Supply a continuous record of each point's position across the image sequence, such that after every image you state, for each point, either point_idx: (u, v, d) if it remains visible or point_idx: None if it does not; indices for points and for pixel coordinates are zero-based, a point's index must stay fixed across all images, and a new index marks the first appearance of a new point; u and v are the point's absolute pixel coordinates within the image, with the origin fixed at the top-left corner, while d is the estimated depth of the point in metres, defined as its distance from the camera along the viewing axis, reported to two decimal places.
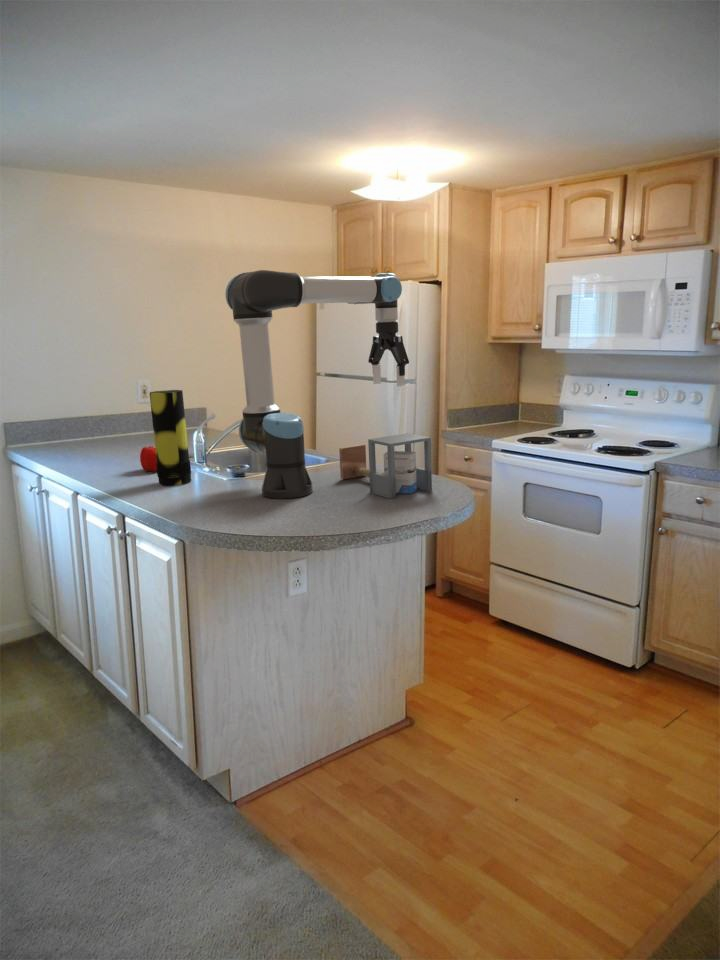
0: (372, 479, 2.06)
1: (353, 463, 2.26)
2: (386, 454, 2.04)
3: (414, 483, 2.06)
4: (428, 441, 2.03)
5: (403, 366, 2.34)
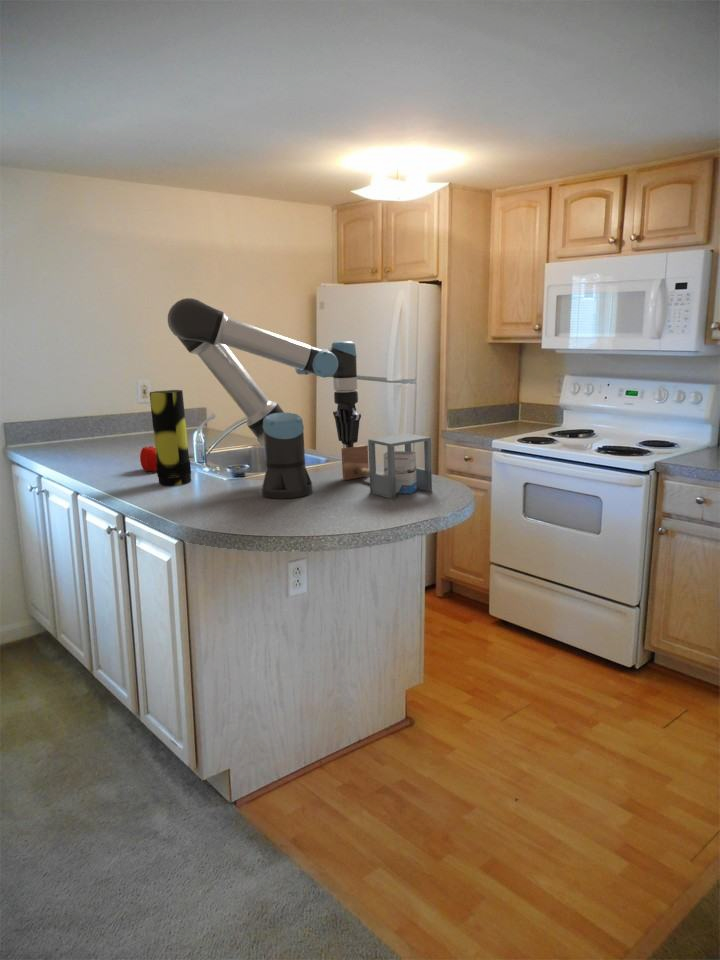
0: (372, 479, 2.06)
1: (355, 464, 2.25)
2: (386, 454, 2.04)
3: (414, 483, 2.06)
4: (428, 441, 2.03)
5: (351, 444, 2.26)
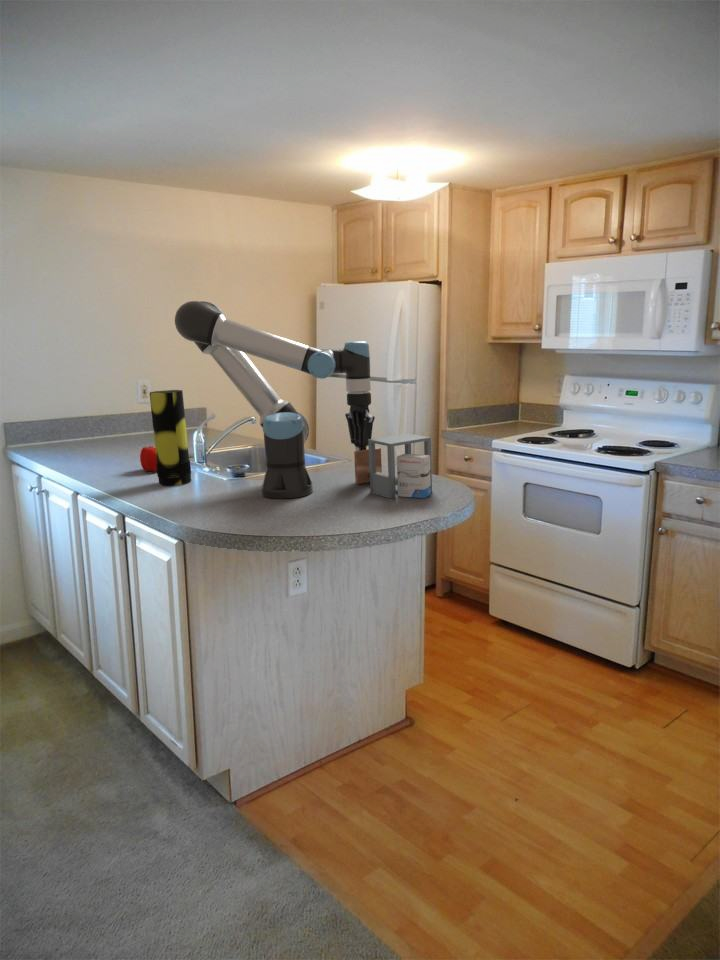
0: (372, 479, 2.06)
1: (368, 467, 2.19)
2: (399, 457, 1.99)
3: (428, 487, 2.00)
4: (428, 441, 2.03)
5: (364, 447, 2.20)
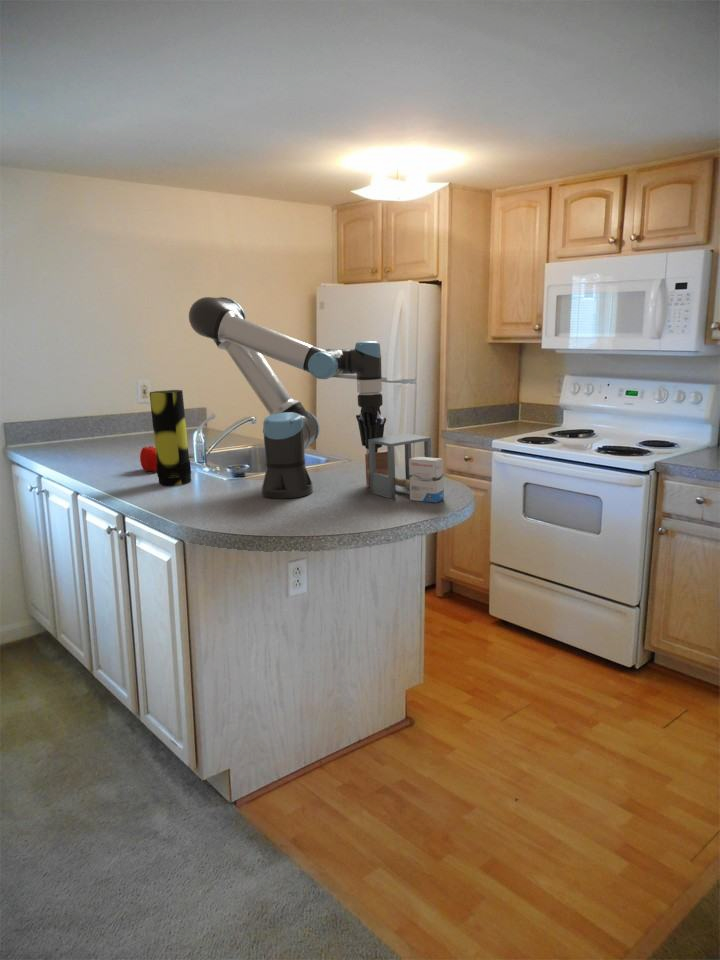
0: (372, 479, 2.06)
1: (380, 470, 2.14)
2: (411, 460, 1.94)
3: (441, 491, 1.94)
4: (428, 441, 2.03)
5: (376, 450, 2.15)
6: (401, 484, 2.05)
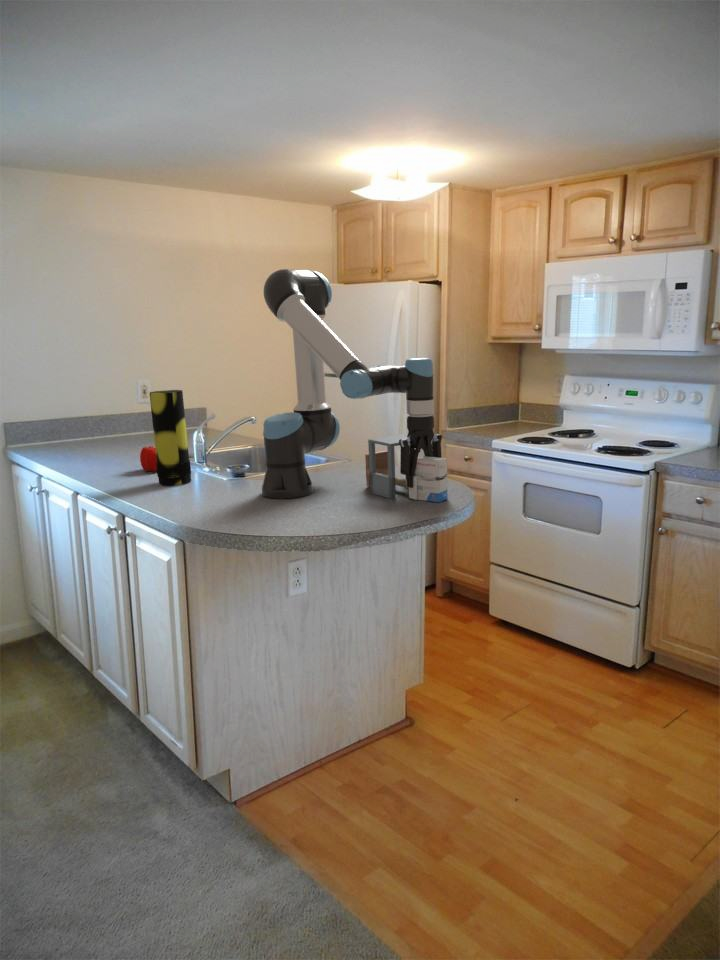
0: (372, 479, 2.06)
1: (380, 470, 2.14)
2: None
3: (444, 491, 1.94)
4: None
5: None
6: (401, 484, 2.05)
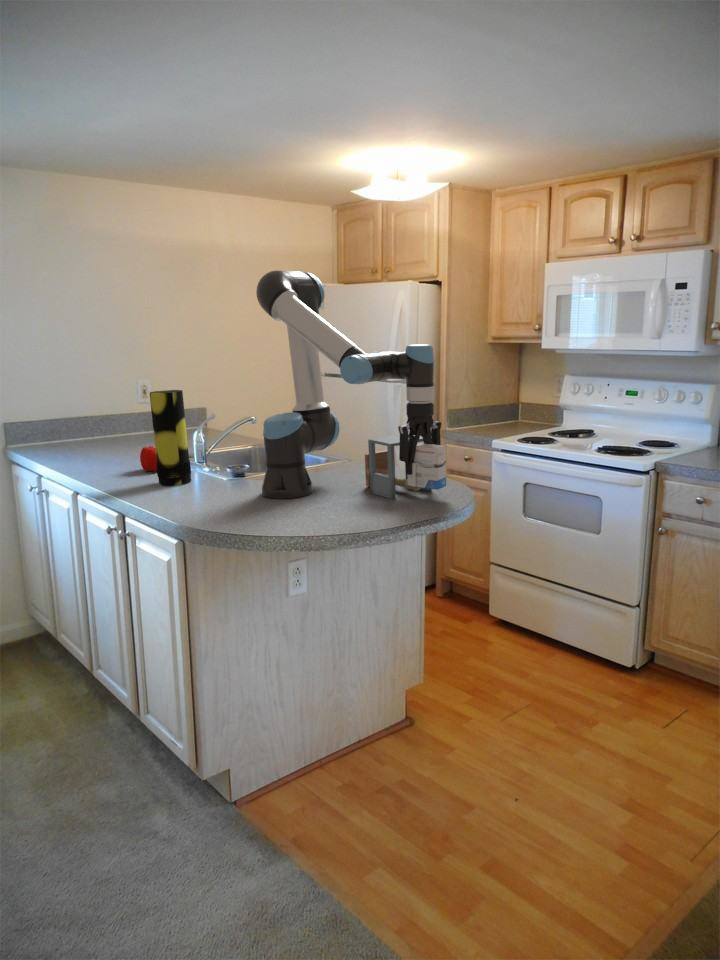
0: (372, 479, 2.06)
1: (379, 470, 2.14)
2: None
3: (443, 478, 1.94)
4: None
5: None
6: (400, 484, 2.05)
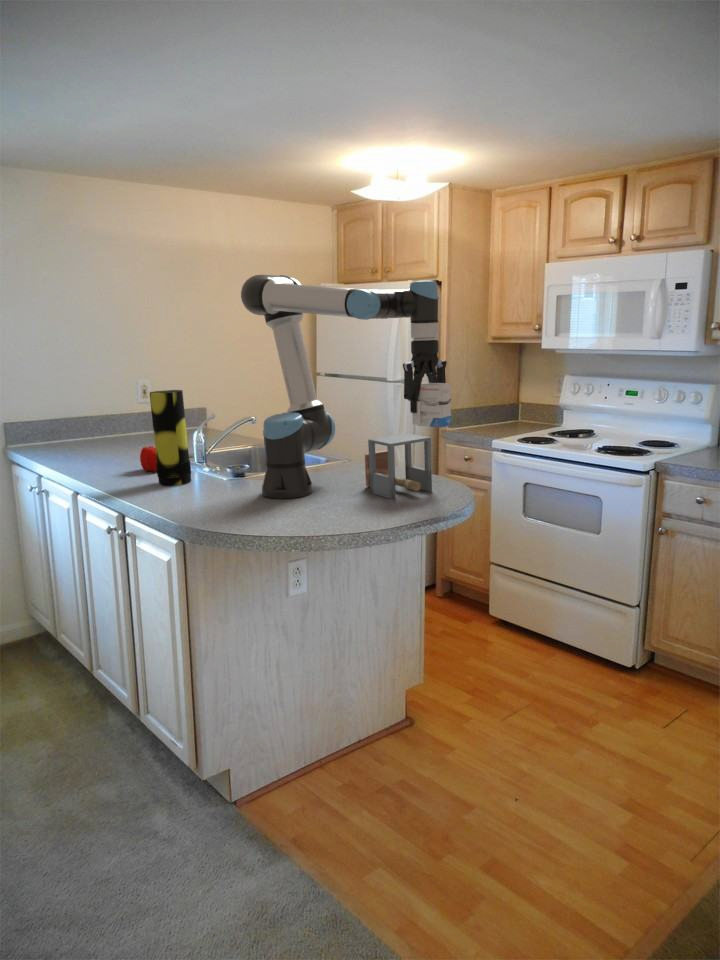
0: (372, 479, 2.06)
1: (379, 470, 2.14)
2: None
3: (448, 416, 1.93)
4: (428, 441, 2.03)
5: None
6: (400, 484, 2.05)
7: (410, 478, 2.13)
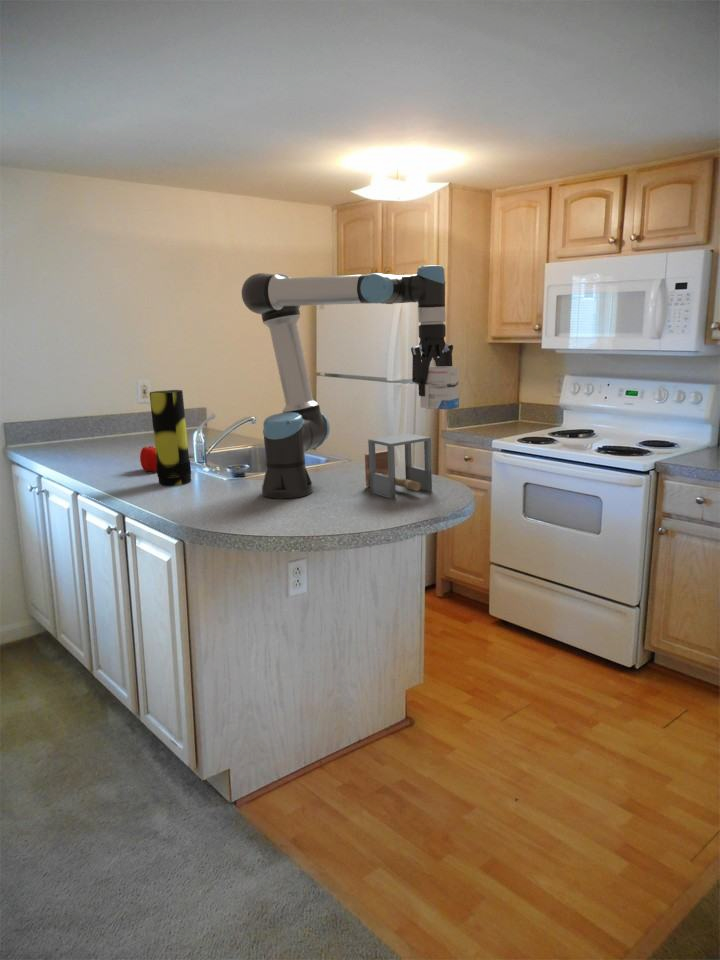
0: (372, 479, 2.06)
1: (379, 470, 2.14)
2: None
3: (456, 399, 1.97)
4: (428, 441, 2.03)
5: None
6: (400, 484, 2.05)
7: (410, 478, 2.13)
